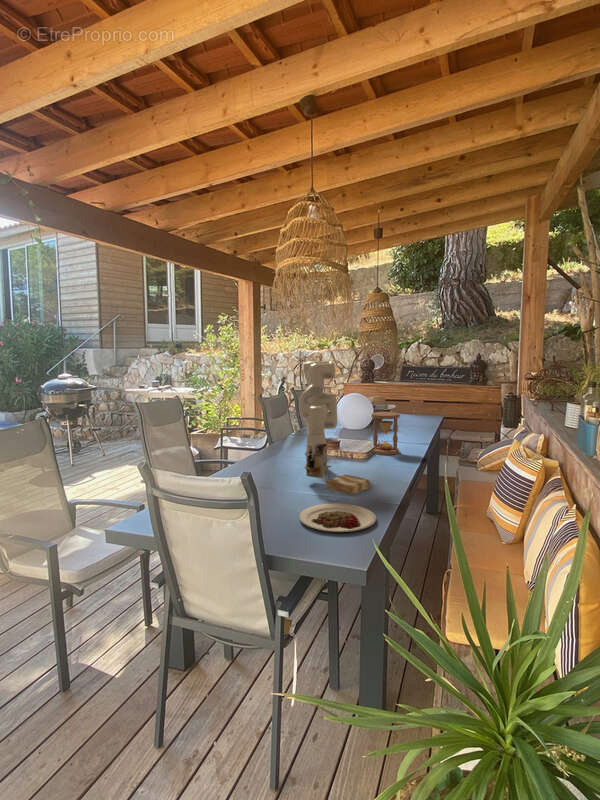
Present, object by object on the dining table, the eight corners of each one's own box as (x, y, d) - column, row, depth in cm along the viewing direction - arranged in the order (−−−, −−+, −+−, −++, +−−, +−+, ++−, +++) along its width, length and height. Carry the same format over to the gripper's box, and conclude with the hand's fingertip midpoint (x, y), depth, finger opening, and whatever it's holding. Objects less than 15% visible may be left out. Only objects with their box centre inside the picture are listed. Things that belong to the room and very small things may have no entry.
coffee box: (305, 476, 235) (305, 444, 233) (310, 472, 241) (310, 442, 239) (322, 478, 231) (322, 446, 229) (327, 475, 237) (327, 443, 235)
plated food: (315, 504, 206) (315, 496, 205) (383, 513, 194) (383, 505, 194) (287, 528, 178) (286, 520, 178) (364, 541, 167) (364, 531, 166)
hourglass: (403, 451, 306) (404, 413, 304) (391, 456, 293) (391, 416, 290) (379, 448, 317) (379, 411, 314) (366, 452, 304) (366, 414, 301)
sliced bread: (345, 481, 239) (345, 474, 238) (370, 487, 229) (370, 479, 228) (326, 488, 228) (326, 480, 227) (351, 494, 218) (351, 486, 217)
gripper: (322, 427, 242) (322, 460, 244) (299, 432, 229) (299, 468, 231) (333, 429, 237) (333, 463, 239) (310, 435, 224) (310, 471, 226)
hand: (316, 465), depth 235 cm, fingers closed on coffee box, 7 cm apart
